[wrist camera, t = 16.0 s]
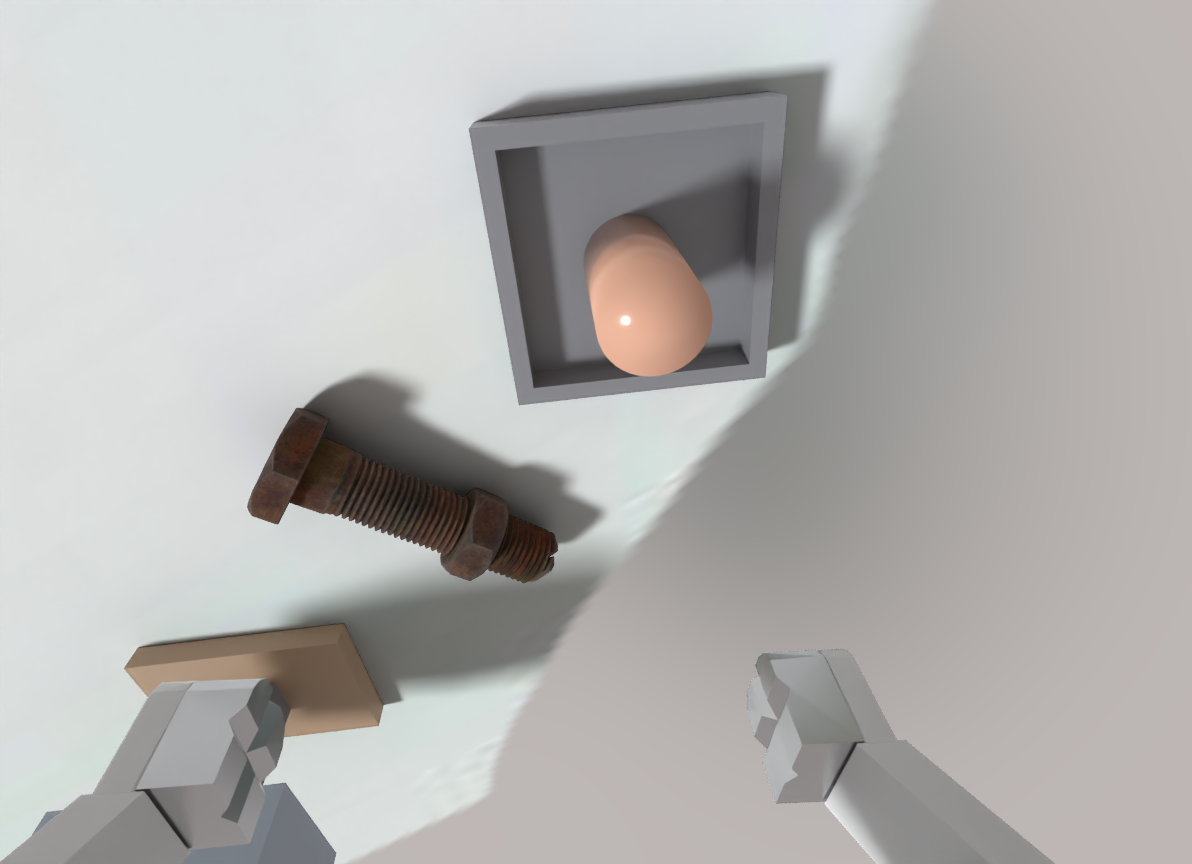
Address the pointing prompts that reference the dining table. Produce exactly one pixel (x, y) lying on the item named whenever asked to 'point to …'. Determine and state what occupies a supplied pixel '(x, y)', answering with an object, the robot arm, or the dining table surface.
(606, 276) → the peach rounded cylinder
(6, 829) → the dining table surface
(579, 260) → the parts tray
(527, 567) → the bolt
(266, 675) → the mounted unit
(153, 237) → the dining table surface
